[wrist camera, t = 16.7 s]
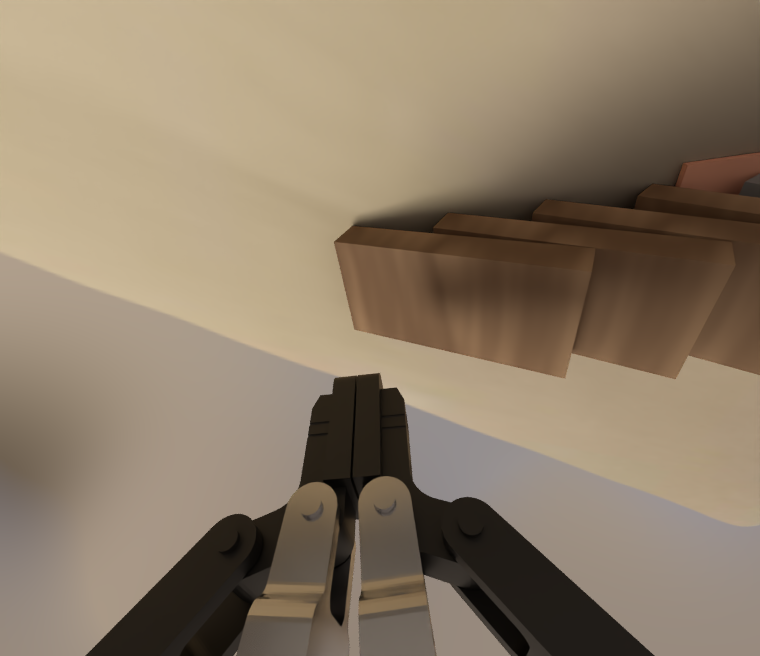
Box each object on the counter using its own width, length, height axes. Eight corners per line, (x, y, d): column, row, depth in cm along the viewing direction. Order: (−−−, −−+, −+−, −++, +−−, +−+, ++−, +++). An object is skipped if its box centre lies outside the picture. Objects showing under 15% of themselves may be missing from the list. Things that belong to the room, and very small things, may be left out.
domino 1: (354, 329, 19) (564, 378, 15) (333, 241, 16) (591, 271, 12) (369, 311, 21) (569, 352, 16) (352, 226, 17) (595, 248, 13)
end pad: (638, 289, 20) (642, 292, 20) (683, 163, 16) (687, 165, 16) (739, 277, 19) (744, 280, 19) (811, 144, 15) (817, 146, 15)
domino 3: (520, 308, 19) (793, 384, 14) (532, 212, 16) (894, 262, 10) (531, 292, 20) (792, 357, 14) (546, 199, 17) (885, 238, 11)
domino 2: (436, 319, 19) (675, 379, 14) (433, 227, 16) (735, 265, 11) (449, 302, 20) (676, 353, 15) (448, 212, 17) (731, 241, 12)
